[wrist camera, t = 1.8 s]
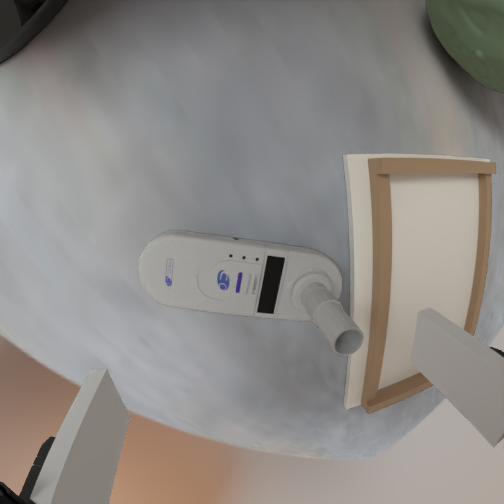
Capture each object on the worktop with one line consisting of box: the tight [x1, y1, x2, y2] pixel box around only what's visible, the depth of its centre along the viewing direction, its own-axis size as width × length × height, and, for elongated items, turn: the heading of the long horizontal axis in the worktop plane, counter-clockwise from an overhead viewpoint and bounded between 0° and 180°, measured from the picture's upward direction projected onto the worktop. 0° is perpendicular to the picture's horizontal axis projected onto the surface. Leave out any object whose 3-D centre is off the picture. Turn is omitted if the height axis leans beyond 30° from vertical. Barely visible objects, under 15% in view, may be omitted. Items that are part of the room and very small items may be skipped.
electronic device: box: [139, 230, 364, 356], centre depth 17 cm, size 5×10×15 cm
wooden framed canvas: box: [343, 154, 496, 414], centre depth 23 cm, size 26×20×3 cm
